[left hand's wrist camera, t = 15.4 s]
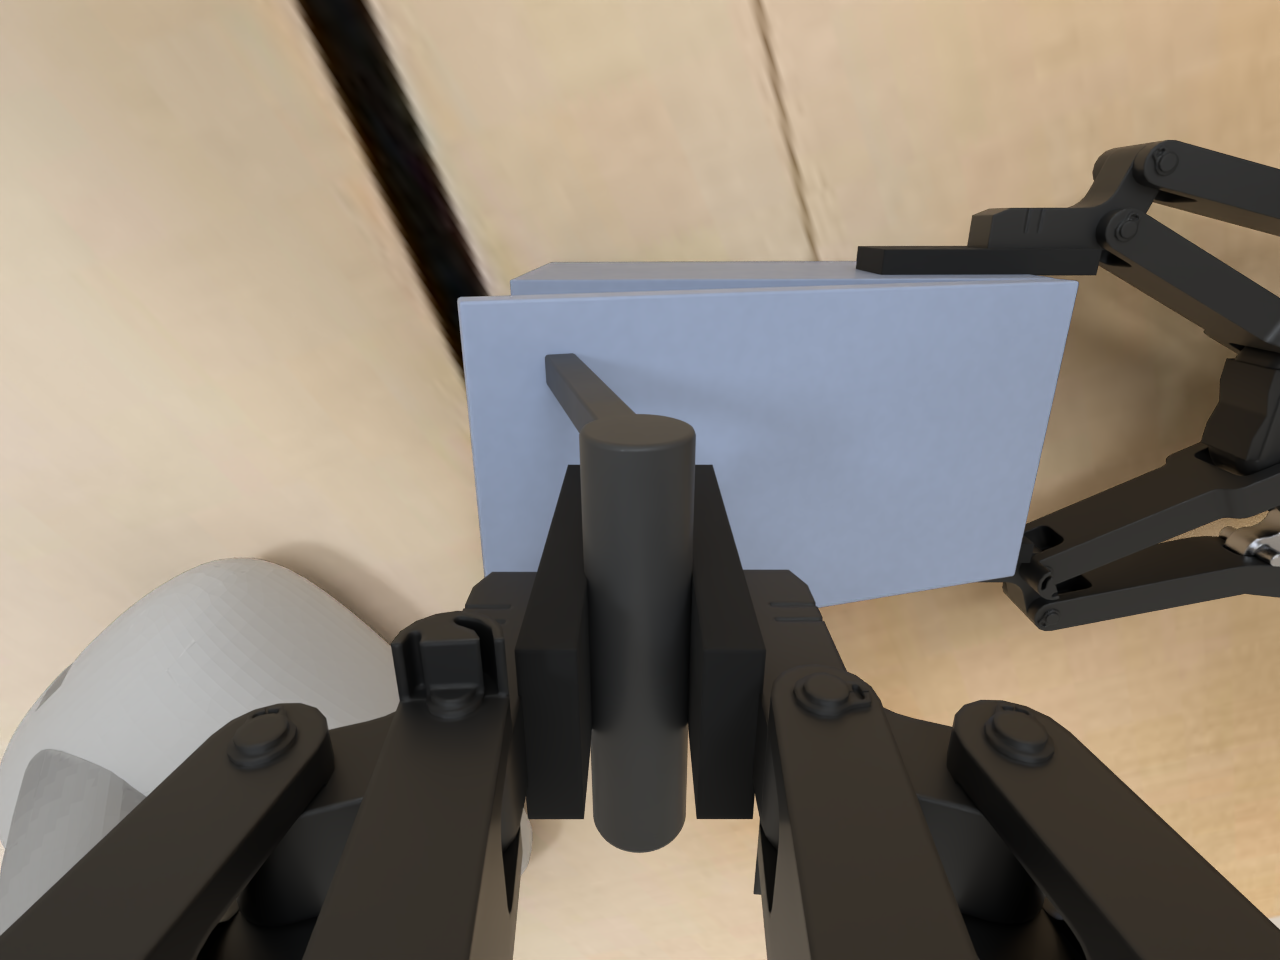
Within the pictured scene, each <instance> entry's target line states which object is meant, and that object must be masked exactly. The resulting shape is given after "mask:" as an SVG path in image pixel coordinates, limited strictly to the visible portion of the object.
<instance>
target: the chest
mask: <svg viewBox="0 0 1280 960" xmlns="http://www.w3.org/2000/svg"><path fill="white" fill-rule="evenodd" d="M1020 279H1052V278H1051V277H1044V276H1037V275H1030V274H1015V275H879V274H875V273H871V272H867V271H862V270H858V269H856V261H761V262H551V263H548V264H546V265H544V266H542V267H539V268H537V269H535V270H532V271H530V272H528V273H526V274H523V275H521V276H519V277H517V278H514V279H512V280H510V288H511V296H514V295H545V294H577V293H609V292H640V291H672V290H704V289H735V288H767V287H799V286H830V285H862V284H894V283H925V282H957V281H989V280H1020ZM1053 279H1054V278H1053Z"/></svg>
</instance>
